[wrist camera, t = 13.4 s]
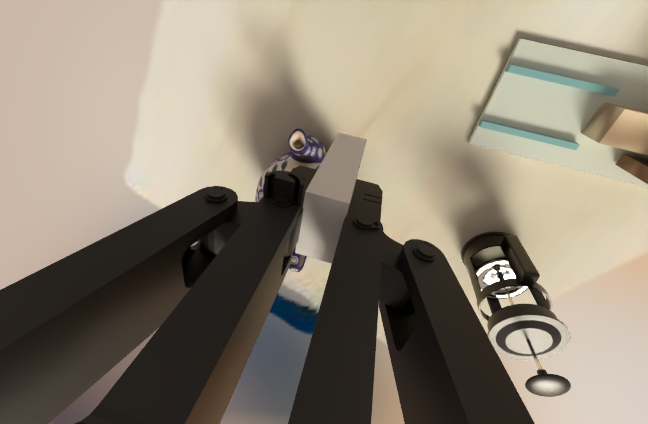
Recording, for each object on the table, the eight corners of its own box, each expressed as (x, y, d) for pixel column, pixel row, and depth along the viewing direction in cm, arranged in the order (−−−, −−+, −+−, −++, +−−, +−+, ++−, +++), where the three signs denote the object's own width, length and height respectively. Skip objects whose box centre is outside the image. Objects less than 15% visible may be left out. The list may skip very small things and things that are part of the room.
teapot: (343, 246, 56) (329, 306, 44) (271, 228, 58) (238, 282, 46) (371, 118, 42) (361, 155, 30) (274, 100, 44) (228, 128, 32)
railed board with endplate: (518, 38, 34) (556, 40, 26) (780, 95, 32) (910, 117, 24) (467, 141, 41) (485, 168, 33) (679, 194, 39) (753, 236, 31)
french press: (507, 280, 52) (572, 422, 33) (454, 271, 54) (486, 402, 35) (535, 227, 46) (634, 366, 27) (473, 219, 48) (526, 345, 29)
